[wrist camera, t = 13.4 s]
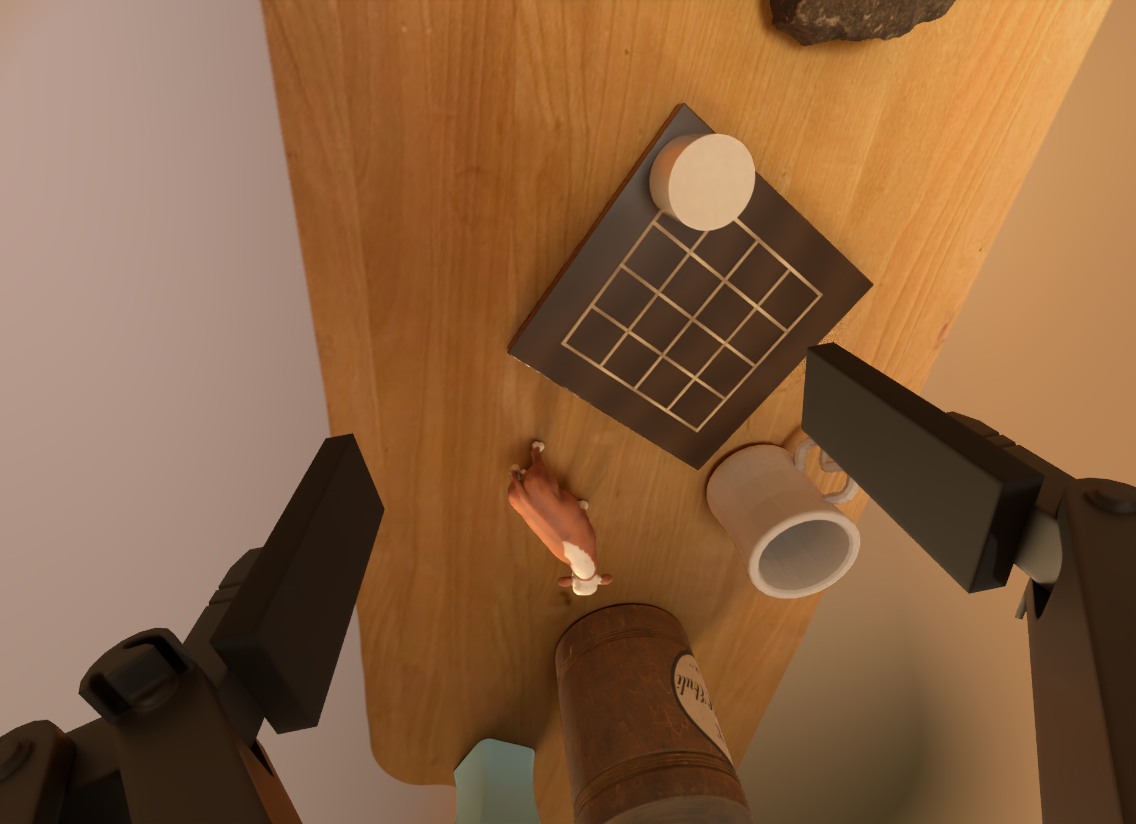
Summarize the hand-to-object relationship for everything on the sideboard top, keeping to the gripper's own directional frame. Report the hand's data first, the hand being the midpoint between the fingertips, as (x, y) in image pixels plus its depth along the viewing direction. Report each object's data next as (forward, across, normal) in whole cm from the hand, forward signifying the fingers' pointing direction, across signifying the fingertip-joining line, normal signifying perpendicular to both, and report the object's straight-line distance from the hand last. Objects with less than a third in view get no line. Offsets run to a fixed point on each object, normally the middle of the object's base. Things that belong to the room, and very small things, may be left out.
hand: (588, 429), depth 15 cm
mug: (+25, +17, -23) cm, 38 cm away
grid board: (+25, +11, -6) cm, 28 cm away
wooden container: (+25, +1, -44) cm, 50 cm away
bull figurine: (+25, -2, -20) cm, 32 cm away
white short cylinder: (+23, +11, +3) cm, 26 cm away
